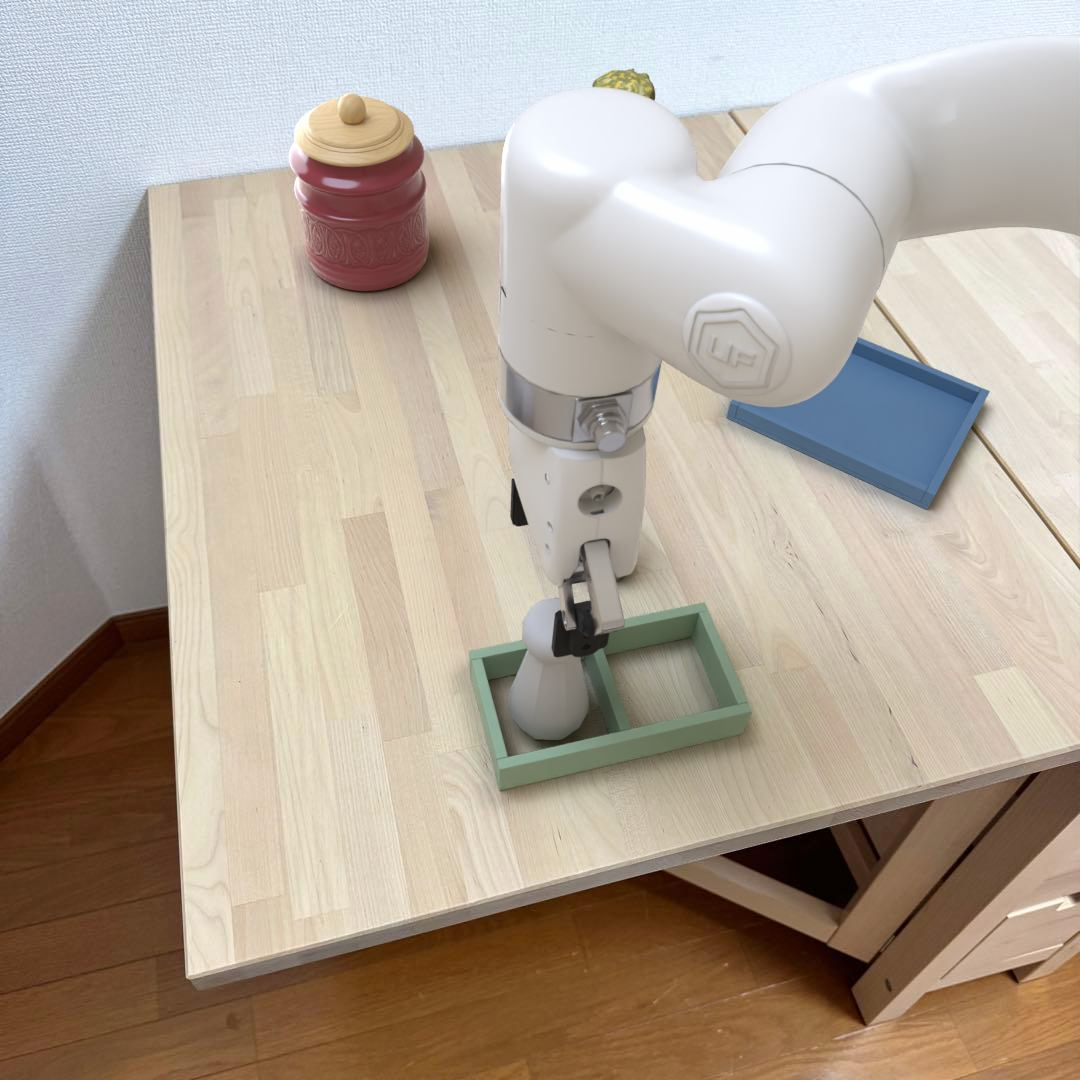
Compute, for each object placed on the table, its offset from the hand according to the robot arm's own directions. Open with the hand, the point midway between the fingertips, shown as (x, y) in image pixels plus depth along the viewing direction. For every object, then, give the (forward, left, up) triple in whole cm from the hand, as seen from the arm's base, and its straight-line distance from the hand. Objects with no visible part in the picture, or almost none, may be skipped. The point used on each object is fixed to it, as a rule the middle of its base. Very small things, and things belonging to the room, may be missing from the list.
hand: (556, 580), depth 60 cm
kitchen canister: (+45, -35, -17) cm, 60 cm away
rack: (-3, -3, -17) cm, 18 cm away
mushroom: (+26, -52, -17) cm, 61 cm away
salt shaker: (0, 0, -17) cm, 17 cm away
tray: (-7, -43, -17) cm, 47 cm away
